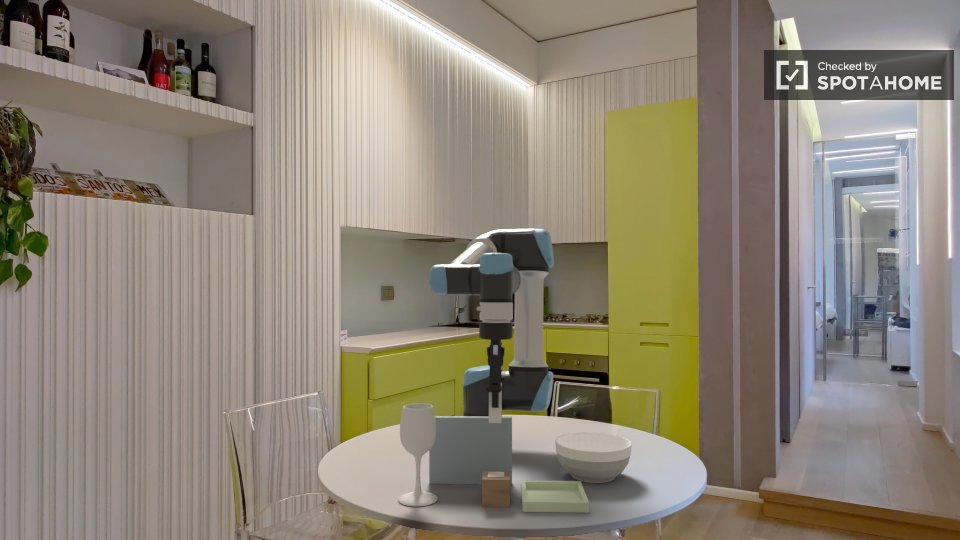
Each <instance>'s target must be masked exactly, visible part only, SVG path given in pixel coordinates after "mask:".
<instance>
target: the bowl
mask: <svg viewBox="0 0 960 540" xmlns="http://www.w3.org/2000/svg"><path fill="white" fill-rule="evenodd" d="M554 443H555V452H556V455H557V459H558V462H559V463H560V465H561V467H562V468H563V470H564V471H566V472H567V473H568V474H570V476H571V477H572V478H573V479H575V481H581V483H582V482H583V483H589V484H602V483H603V484H604V483H605V484H606V483H609V482H612V481H614V480H615V479H616V477H618V476H619V475H621V474H622V473H624V470H625V469H626V468H627V467H628V465H629V462H630V460H631V455H632V441H630V440H629V439H627V438H626V437H623V436H620V435H615V434H612V433H604V432H594V431H593V432H592V431H591V432H588V431H585V432H584V431H579V432H570V433H565V434H561V435H559V436H557V437H556V438H555V442H554Z"/></svg>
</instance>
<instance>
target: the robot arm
mask: <svg viewBox="0 0 960 540" xmlns="http://www.w3.org/2000/svg"><path fill="white" fill-rule="evenodd" d="M554 259H555V257H554V248H553V243H552V237H551V235H550V232H549V231H548V230H547V229H545V228H533V227H532V228H509V229H508V228H507V229H505V228H501V229H494V230H491V231H488V232H485V233H482V234H480V235H478V236H476V237H475V238H473V239H472V240H471V241H470V242H468V244H467V246H466V248H465V250H464V251H462V252H461V254H459V255H458V256H457V257H456V258H455V259H454V260H452V261H450V263H448V264H445V263H441V264H435V265H433V266H432V267H431V268H430V271H429V273H428V274H429V276H428V280H429V281H428V283H429V289H430V291H431V292H432V294H434V295H437V296H438V295H439V296H441V295H442V296H479V306H477V307H476V311H478V312H479V320H480V321H481V322H480V323H479V325H478V329H479V331H478V332H479V333H478V335H479V339H482V340H484V341H485V340H487V341H488V340H490V342H489V344H490V345H489V346H487V347H486V356H487V365H480V366H475V367H474V366H473V367H470V368H468V369H465V372H464V373H463V379H462V381H463V382H462V383H463V384H462V391H463V392H462V399H463V400H462V402H463V404H462V405H463V406H462V409H463V410H462V411H463V413H462V414H463V415H462V416H489V423H501V417H503V411H517V412H518V411H519V412H530V413H533V412H545V411H546V410H547V409H548V408H549V406H550V402H551V398H552V394H553V393H552V392H553V386H554V372H552V371H549V365H548V364H547V362H546V361H545V360H544V280H545V278H546V277H547V276H548V275H549V273H550V271H549V269H550V268H554V266H555V261H554ZM513 295H514V303H513ZM513 315H514V316H513ZM512 320H514V324H513V323H512V322H511V321H512ZM513 325H514V329H513ZM513 330H514V333H513ZM513 334H514V335H513ZM512 338H514V339H513V342H514V343H513V359H512V361H510V363H508V370H506V369H505V370H503V366H504V357H505V354H506V353H505V346H502V345H503V342H502V340H503V341H504V340H512Z"/></svg>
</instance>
